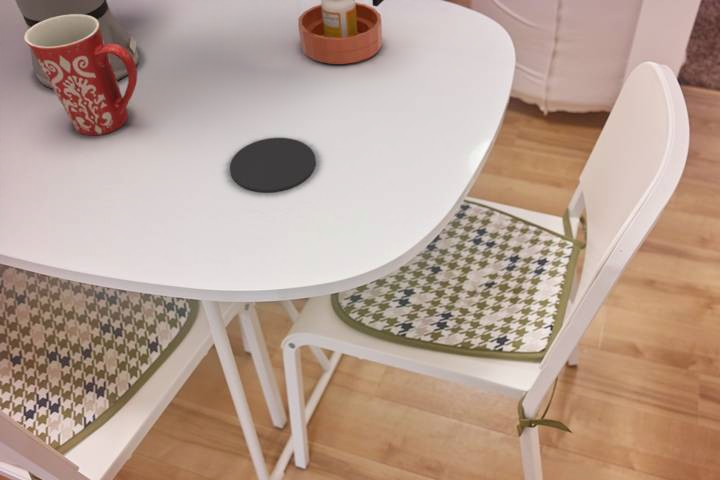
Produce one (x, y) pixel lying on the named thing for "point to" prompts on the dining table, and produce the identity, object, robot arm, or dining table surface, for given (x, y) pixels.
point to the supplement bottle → (339, 18)
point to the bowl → (344, 47)
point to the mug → (83, 71)
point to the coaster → (272, 164)
